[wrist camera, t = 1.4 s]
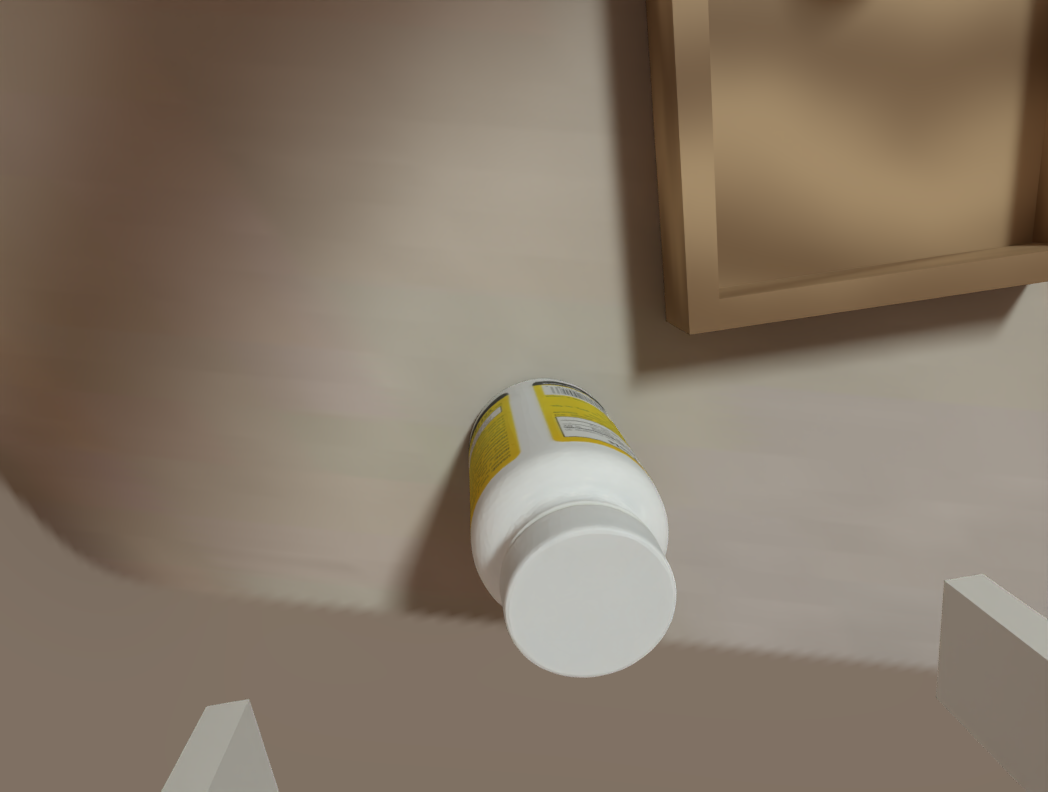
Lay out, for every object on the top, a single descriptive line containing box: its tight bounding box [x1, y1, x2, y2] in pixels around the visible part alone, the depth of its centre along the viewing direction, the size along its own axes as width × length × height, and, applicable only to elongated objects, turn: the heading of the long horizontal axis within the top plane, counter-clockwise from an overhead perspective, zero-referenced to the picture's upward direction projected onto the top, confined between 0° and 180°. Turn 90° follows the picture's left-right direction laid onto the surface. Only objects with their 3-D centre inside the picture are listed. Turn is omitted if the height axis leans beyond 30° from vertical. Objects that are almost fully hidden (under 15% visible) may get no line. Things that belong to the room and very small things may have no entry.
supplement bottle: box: [469, 379, 676, 678], centre depth 19 cm, size 5×5×10 cm
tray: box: [646, 0, 1048, 335], centre depth 19 cm, size 16×14×2 cm
